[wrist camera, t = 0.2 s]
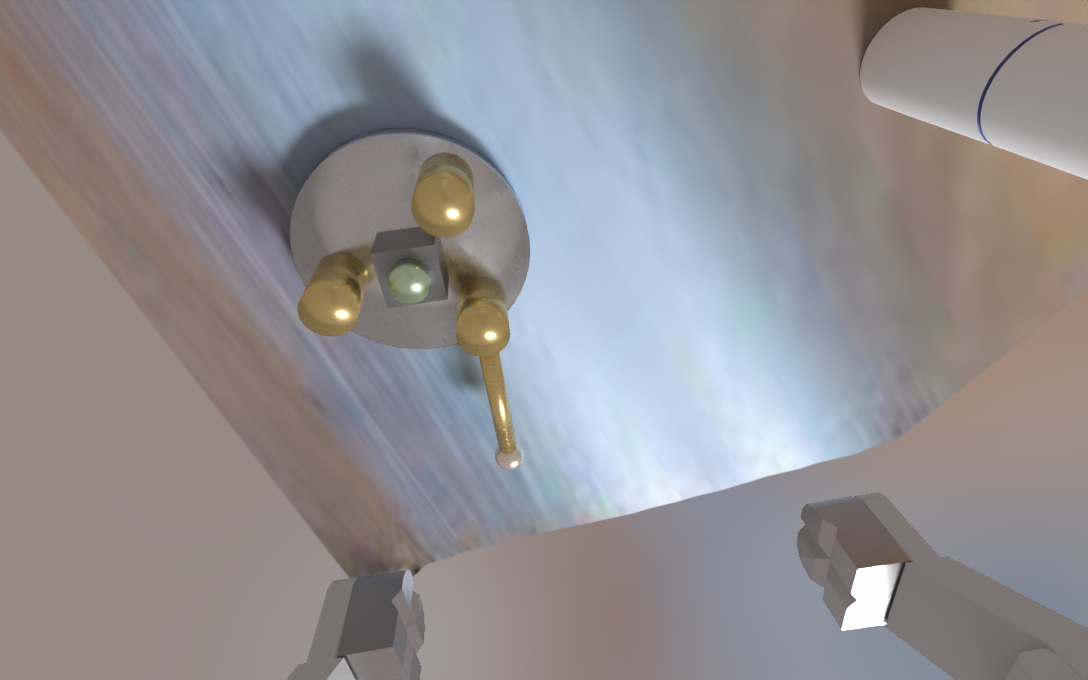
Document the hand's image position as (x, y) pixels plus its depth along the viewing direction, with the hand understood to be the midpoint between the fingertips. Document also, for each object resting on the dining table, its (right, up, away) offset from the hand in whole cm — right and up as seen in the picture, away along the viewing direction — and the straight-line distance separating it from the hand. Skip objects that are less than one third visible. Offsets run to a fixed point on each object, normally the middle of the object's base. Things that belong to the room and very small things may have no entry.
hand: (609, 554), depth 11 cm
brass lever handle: (-6, +2, +43) cm, 43 cm away
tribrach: (-13, +13, +37) cm, 41 cm away
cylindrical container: (+28, +27, +33) cm, 51 cm away
